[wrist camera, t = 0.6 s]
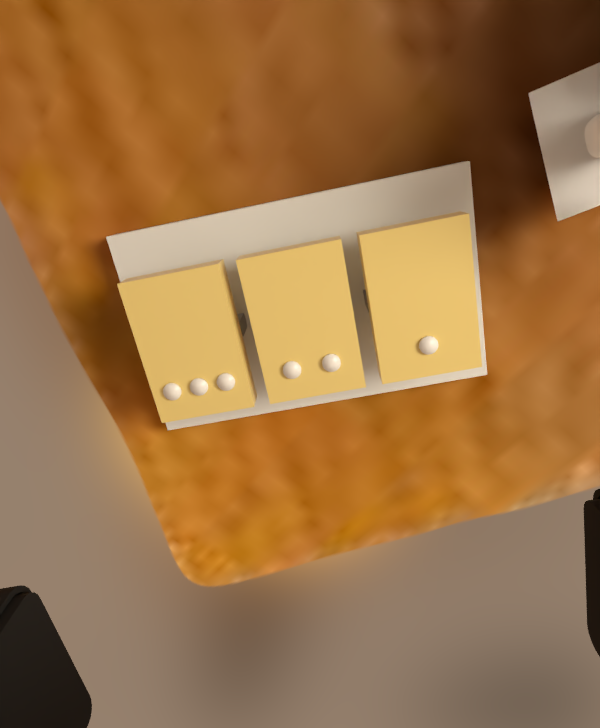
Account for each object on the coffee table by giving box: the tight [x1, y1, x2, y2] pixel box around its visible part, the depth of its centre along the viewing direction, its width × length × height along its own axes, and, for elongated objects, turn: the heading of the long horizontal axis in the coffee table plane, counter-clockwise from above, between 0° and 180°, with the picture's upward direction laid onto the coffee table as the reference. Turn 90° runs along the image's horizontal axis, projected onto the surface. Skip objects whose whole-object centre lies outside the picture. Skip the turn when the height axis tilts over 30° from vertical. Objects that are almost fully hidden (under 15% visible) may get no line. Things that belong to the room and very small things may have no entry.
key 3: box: [117, 259, 257, 423], centre depth 31 cm, size 9×6×2 cm, turn 11°
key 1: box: [356, 211, 482, 384], centre depth 30 cm, size 9×6×2 cm, turn 11°
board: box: [106, 161, 487, 430], centre depth 34 cm, size 14×23×4 cm, turn 101°
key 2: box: [236, 236, 366, 404], centre depth 31 cm, size 9×6×2 cm, turn 11°
